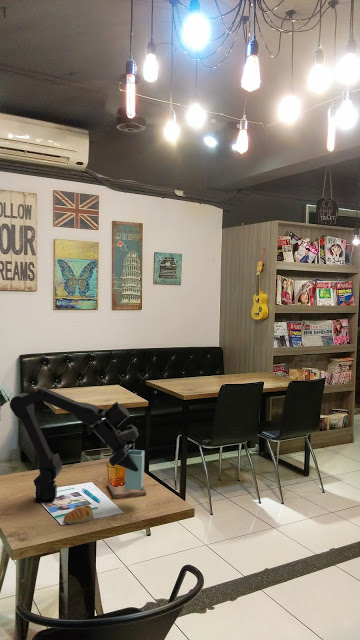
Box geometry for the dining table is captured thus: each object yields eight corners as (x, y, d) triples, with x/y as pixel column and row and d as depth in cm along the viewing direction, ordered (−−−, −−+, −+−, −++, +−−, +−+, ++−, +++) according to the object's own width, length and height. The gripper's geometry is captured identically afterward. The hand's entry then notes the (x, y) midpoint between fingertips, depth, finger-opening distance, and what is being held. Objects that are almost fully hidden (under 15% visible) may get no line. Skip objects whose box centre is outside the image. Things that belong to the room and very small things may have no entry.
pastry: (70, 527, 153) (70, 516, 153) (59, 520, 158) (59, 508, 158) (95, 519, 160) (95, 507, 160) (84, 512, 165) (84, 501, 165)
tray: (113, 498, 176) (113, 494, 176) (107, 486, 187) (107, 482, 187) (146, 495, 180) (146, 491, 179) (137, 483, 191) (138, 479, 191)
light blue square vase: (125, 488, 168) (126, 454, 167) (128, 482, 174) (129, 449, 173) (140, 490, 168) (142, 455, 167) (143, 483, 173) (144, 450, 172)
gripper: (119, 426, 160) (151, 461, 160) (130, 413, 179) (158, 444, 179) (95, 448, 161) (127, 483, 161) (108, 433, 180) (137, 464, 180)
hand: (138, 467), depth 170 cm, fingers closed on light blue square vase, 5 cm apart
